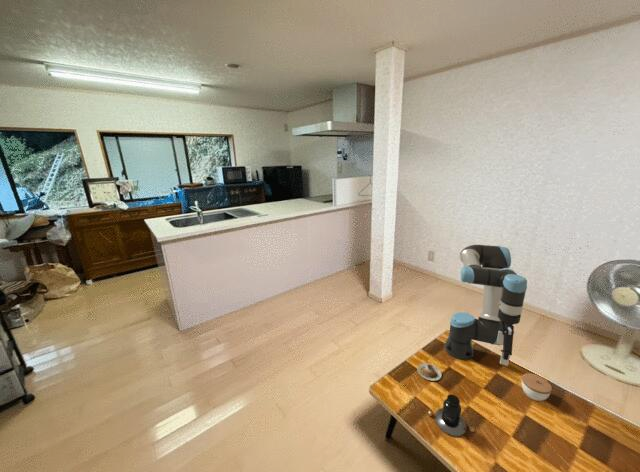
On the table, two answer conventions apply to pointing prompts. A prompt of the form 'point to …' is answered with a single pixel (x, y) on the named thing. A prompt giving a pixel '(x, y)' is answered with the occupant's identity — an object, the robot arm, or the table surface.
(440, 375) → the grey ring with stone
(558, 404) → the table surface
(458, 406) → the supplement bottle
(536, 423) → the table surface
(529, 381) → the lidded jar
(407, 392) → the table surface
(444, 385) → the table surface
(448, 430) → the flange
